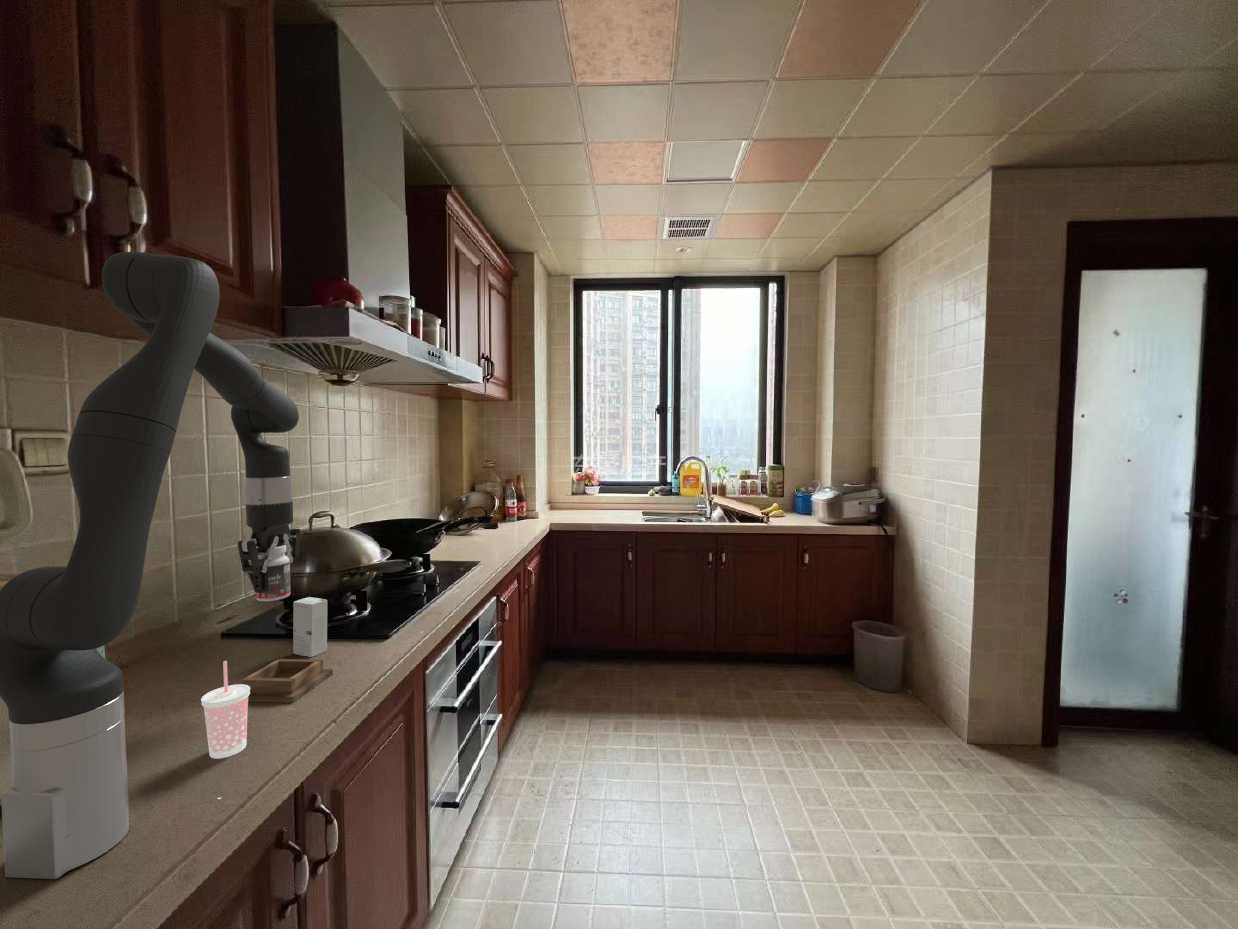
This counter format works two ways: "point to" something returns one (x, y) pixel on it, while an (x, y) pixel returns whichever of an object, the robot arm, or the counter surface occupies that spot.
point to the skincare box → (310, 626)
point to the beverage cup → (226, 718)
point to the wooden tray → (285, 680)
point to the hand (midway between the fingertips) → (273, 586)
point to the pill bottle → (277, 576)
